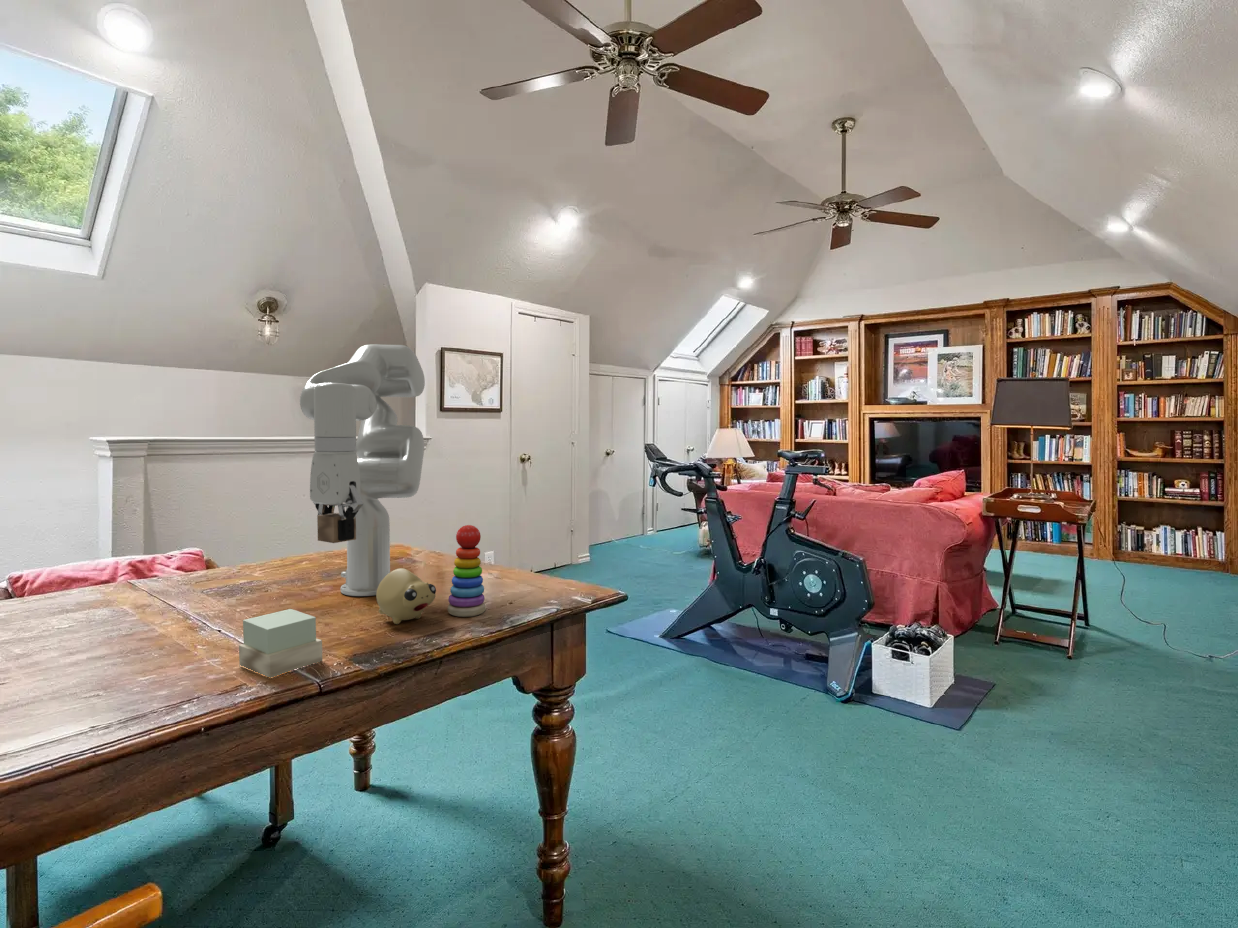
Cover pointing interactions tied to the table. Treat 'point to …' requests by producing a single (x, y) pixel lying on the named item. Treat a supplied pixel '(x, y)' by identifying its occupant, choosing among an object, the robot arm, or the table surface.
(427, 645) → the table surface
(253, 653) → the base block
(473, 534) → the stacking toy
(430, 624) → the table surface
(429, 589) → the toy frog
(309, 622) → the top block
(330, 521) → the walnut cube
